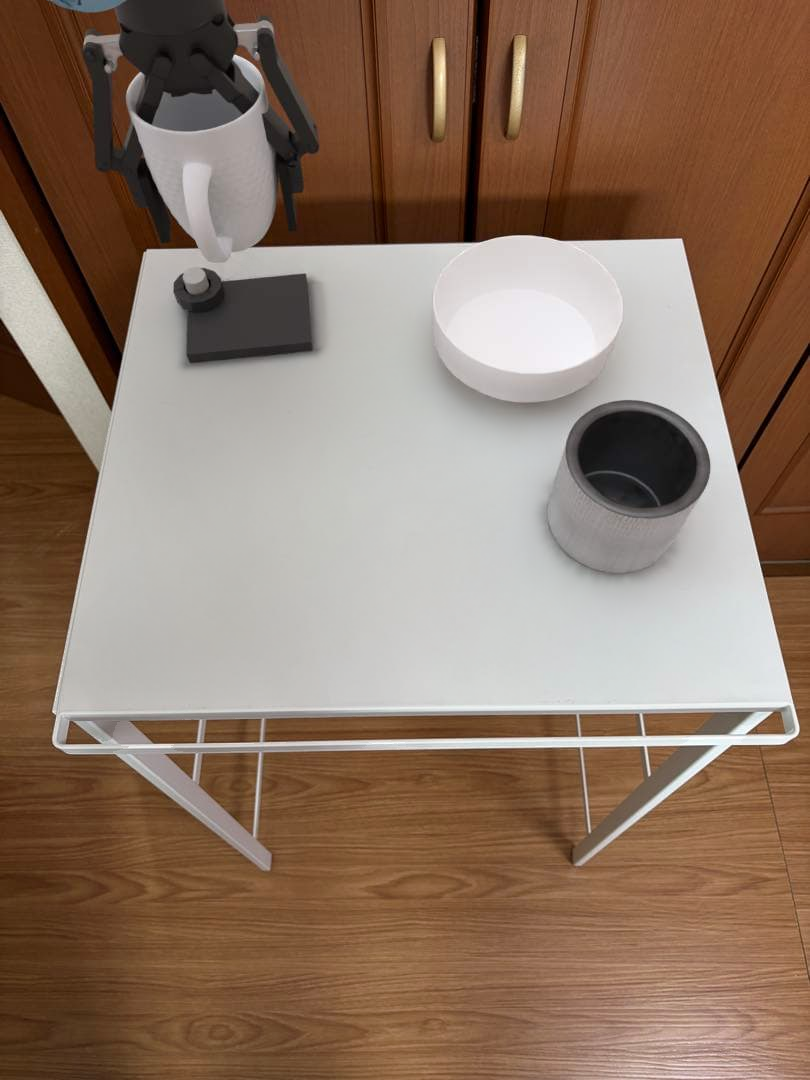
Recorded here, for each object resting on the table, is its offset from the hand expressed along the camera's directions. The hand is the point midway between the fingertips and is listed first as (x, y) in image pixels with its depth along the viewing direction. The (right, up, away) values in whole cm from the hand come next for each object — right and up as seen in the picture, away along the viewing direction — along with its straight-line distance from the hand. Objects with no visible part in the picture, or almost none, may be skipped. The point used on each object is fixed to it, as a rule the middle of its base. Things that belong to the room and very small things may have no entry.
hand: (229, 227), depth 68 cm
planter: (+36, -27, +6) cm, 46 cm away
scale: (-2, -3, +19) cm, 19 cm away
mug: (0, -1, +1) cm, 1 cm away
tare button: (-8, +1, +18) cm, 20 cm away
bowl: (+29, -8, +16) cm, 34 cm away
